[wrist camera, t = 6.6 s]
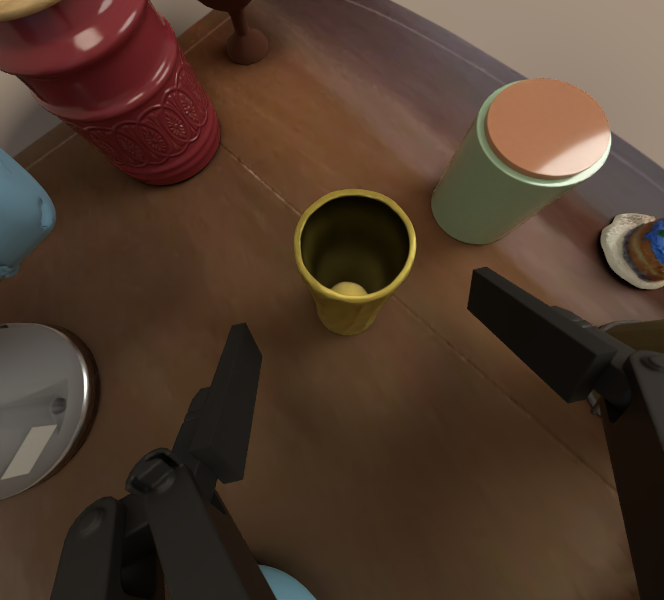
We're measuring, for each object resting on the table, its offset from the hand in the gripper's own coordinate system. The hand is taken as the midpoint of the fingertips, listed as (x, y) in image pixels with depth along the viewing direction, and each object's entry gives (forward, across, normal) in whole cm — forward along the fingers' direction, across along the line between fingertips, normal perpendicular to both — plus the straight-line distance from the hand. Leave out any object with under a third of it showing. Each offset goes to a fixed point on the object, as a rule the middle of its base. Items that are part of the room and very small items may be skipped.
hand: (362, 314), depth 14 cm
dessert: (+8, +29, -6) cm, 31 cm away
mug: (+15, +17, +1) cm, 22 cm away
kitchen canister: (+26, -16, +12) cm, 33 cm away
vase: (+9, 0, -5) cm, 10 cm away
